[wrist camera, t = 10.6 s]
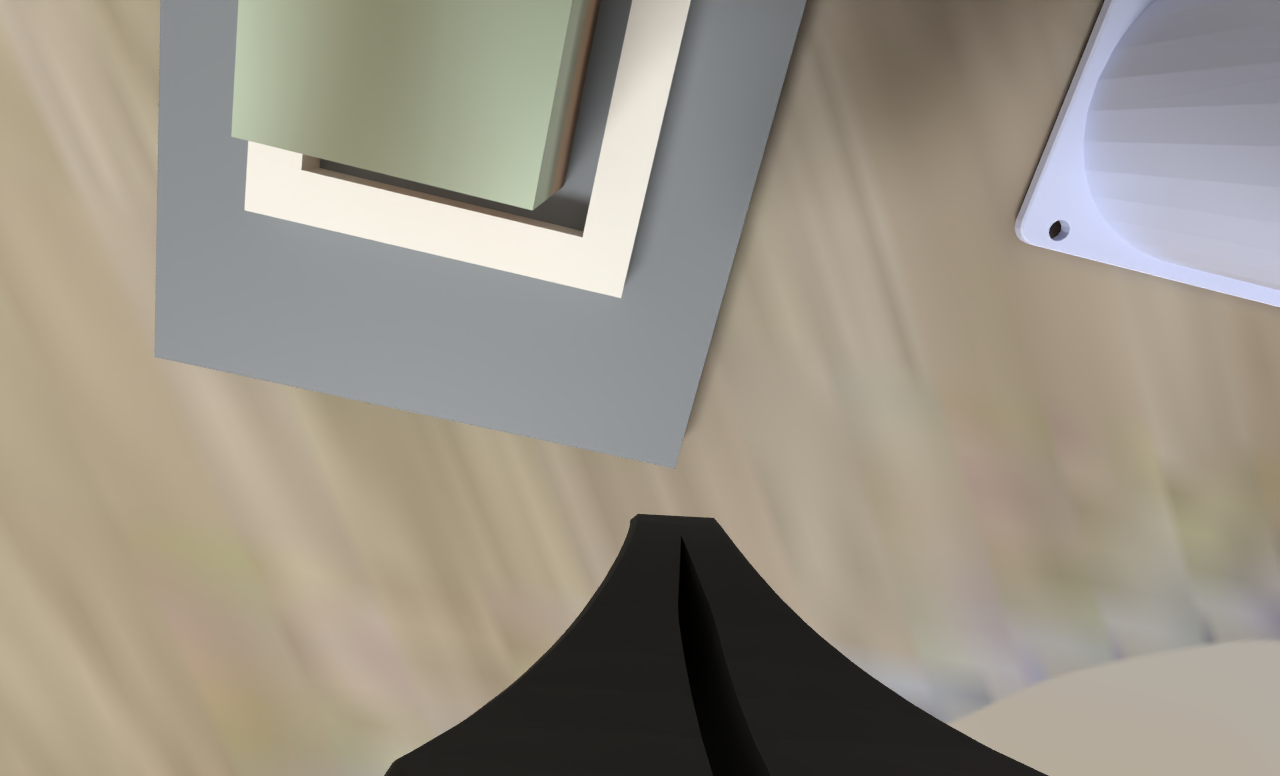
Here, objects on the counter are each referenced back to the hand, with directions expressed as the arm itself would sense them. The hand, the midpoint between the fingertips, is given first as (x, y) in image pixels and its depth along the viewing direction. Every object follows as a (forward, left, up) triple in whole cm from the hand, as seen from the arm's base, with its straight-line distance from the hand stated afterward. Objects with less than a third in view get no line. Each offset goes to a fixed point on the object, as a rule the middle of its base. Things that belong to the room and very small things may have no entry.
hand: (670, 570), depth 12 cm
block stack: (+6, -7, -8) cm, 12 cm away
